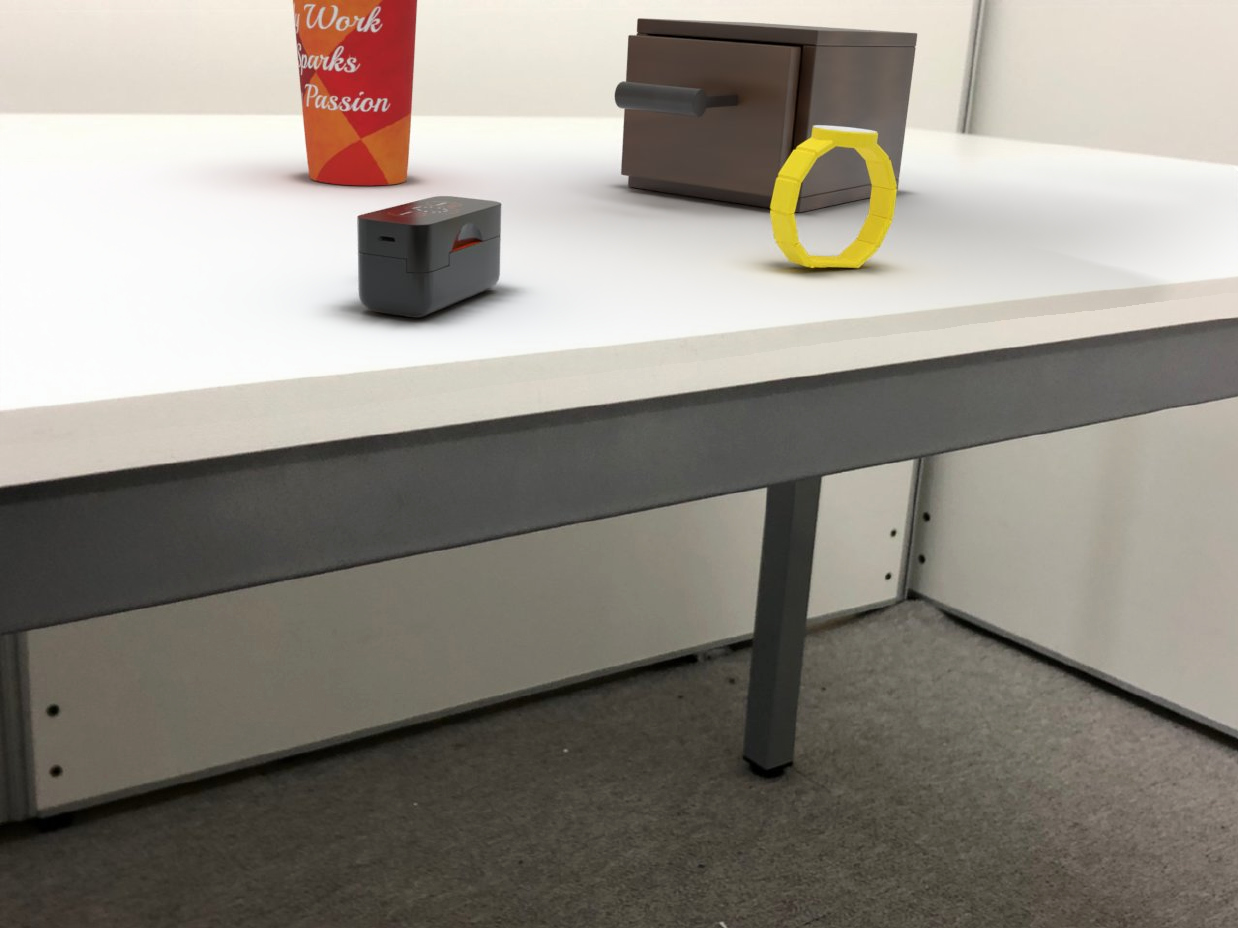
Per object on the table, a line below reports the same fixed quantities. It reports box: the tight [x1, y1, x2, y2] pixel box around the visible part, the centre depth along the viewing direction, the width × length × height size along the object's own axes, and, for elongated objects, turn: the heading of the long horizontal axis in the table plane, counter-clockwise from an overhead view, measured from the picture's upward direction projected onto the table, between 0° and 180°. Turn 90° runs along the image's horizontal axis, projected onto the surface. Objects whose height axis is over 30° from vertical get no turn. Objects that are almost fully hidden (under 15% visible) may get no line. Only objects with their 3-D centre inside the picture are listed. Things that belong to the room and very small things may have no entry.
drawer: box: [614, 34, 804, 197], centre depth 73 cm, size 17×10×8 cm, turn 145°
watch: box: [769, 125, 898, 269], centre depth 54 cm, size 6×3×6 cm, turn 121°
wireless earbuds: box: [356, 195, 502, 318], centre depth 46 cm, size 5×7×3 cm, turn 159°
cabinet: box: [627, 17, 918, 213], centre depth 77 cm, size 14×12×10 cm
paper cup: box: [292, 0, 418, 187], centre depth 71 cm, size 8×8×14 cm
